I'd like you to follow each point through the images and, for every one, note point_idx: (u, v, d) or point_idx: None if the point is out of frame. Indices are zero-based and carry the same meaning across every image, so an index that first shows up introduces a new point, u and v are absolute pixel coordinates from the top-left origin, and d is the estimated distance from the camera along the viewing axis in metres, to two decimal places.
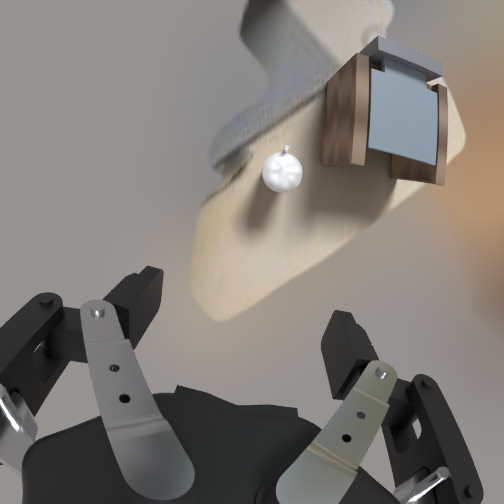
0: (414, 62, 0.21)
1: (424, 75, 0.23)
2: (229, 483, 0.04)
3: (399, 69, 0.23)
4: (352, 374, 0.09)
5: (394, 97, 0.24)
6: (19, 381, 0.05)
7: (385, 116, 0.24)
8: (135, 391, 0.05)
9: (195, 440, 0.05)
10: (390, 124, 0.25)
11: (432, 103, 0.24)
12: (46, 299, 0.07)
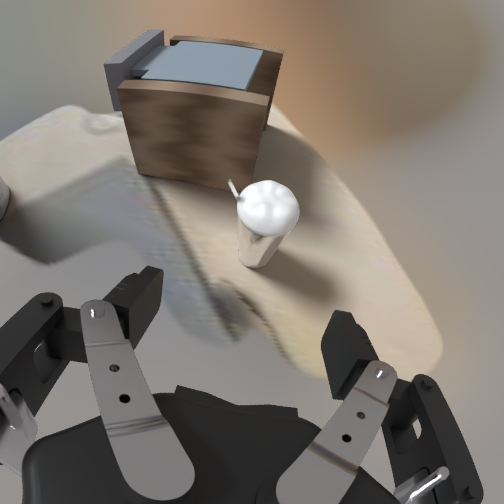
0: (144, 43, 0.20)
1: (159, 46, 0.22)
2: (229, 484, 0.04)
3: (148, 60, 0.21)
4: (352, 374, 0.09)
5: (182, 65, 0.21)
6: (19, 381, 0.05)
7: (205, 73, 0.20)
8: (135, 391, 0.05)
9: (195, 440, 0.05)
10: (216, 70, 0.21)
11: (191, 44, 0.23)
12: (46, 299, 0.07)
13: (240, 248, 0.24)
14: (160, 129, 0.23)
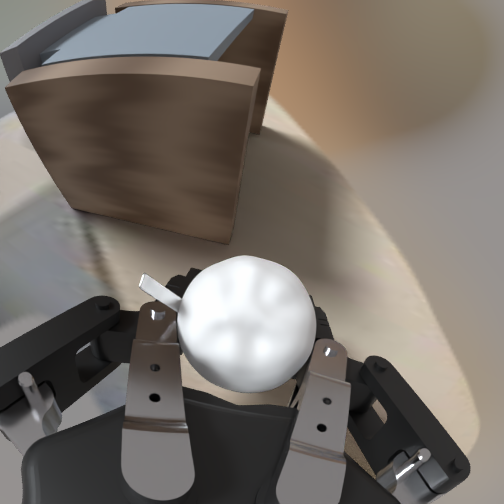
0: (66, 13, 0.09)
1: (95, 17, 0.11)
2: (229, 483, 0.04)
3: (68, 37, 0.10)
4: None
5: (111, 33, 0.10)
6: (54, 375, 0.05)
7: (142, 38, 0.09)
8: (168, 393, 0.05)
9: (195, 440, 0.05)
10: (163, 33, 0.10)
11: (142, 8, 0.12)
12: (102, 303, 0.08)
13: None
14: (74, 146, 0.12)
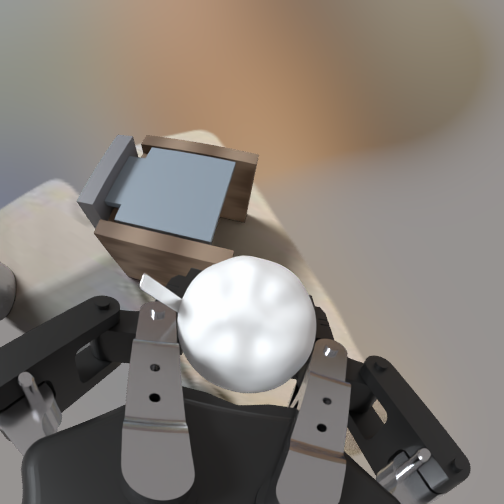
0: (113, 165, 0.24)
1: (130, 158, 0.26)
2: (229, 484, 0.04)
3: (119, 185, 0.25)
4: None
5: (152, 198, 0.24)
6: (54, 375, 0.05)
7: (174, 214, 0.24)
8: (168, 393, 0.05)
9: (195, 440, 0.05)
10: (184, 209, 0.24)
11: (162, 155, 0.27)
12: (102, 303, 0.08)
13: None
14: (140, 261, 0.27)
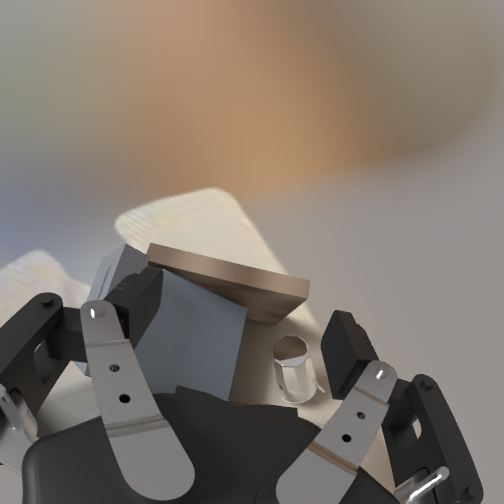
0: None
1: None
2: (229, 483, 0.04)
3: None
4: (352, 374, 0.09)
5: (172, 359, 0.19)
6: (19, 381, 0.05)
7: (196, 379, 0.21)
8: (135, 391, 0.05)
9: (195, 440, 0.05)
10: (205, 373, 0.21)
11: (178, 288, 0.21)
12: (46, 299, 0.07)
13: (305, 376, 0.23)
14: None
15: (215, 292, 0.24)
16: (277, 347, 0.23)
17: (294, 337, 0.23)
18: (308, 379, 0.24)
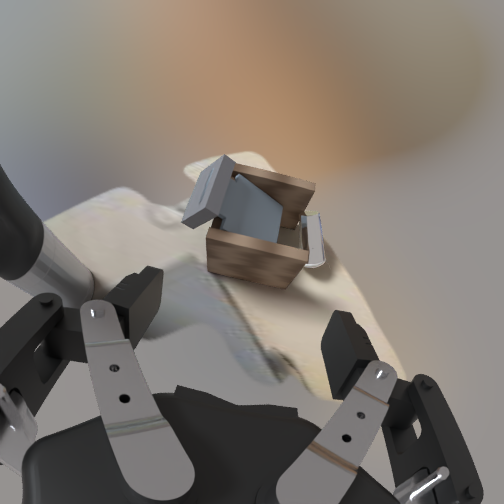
0: (227, 185, 0.35)
1: None
2: (229, 483, 0.04)
3: (223, 200, 0.36)
4: (352, 374, 0.09)
5: (244, 219, 0.38)
6: (19, 381, 0.05)
7: (256, 235, 0.39)
8: (135, 391, 0.05)
9: (195, 440, 0.05)
10: (261, 234, 0.39)
11: (246, 184, 0.40)
12: (46, 299, 0.07)
13: (319, 231, 0.43)
14: (233, 259, 0.38)
15: None
16: (301, 213, 0.43)
17: None
18: (320, 236, 0.43)
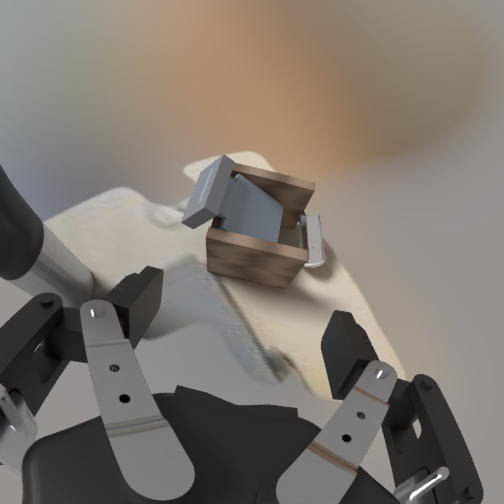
0: (226, 184, 0.35)
1: None
2: (229, 484, 0.04)
3: (222, 200, 0.36)
4: (352, 374, 0.09)
5: (244, 219, 0.38)
6: (19, 381, 0.05)
7: (257, 235, 0.39)
8: (135, 391, 0.05)
9: (195, 440, 0.05)
10: (261, 233, 0.39)
11: (246, 184, 0.40)
12: (46, 299, 0.07)
13: (318, 231, 0.43)
14: (233, 258, 0.38)
15: None
16: (301, 212, 0.43)
17: (309, 210, 0.44)
18: (320, 236, 0.43)
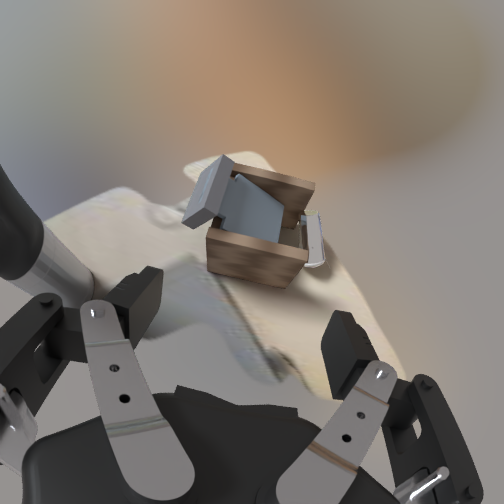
0: (226, 184, 0.35)
1: None
2: (229, 484, 0.04)
3: (222, 200, 0.36)
4: (352, 374, 0.09)
5: (244, 219, 0.38)
6: (19, 381, 0.05)
7: (257, 234, 0.39)
8: (135, 391, 0.05)
9: (195, 440, 0.05)
10: (262, 233, 0.39)
11: (246, 184, 0.40)
12: (46, 299, 0.07)
13: (318, 231, 0.43)
14: (233, 258, 0.38)
15: None
16: (301, 212, 0.43)
17: (309, 210, 0.44)
18: (320, 236, 0.43)
